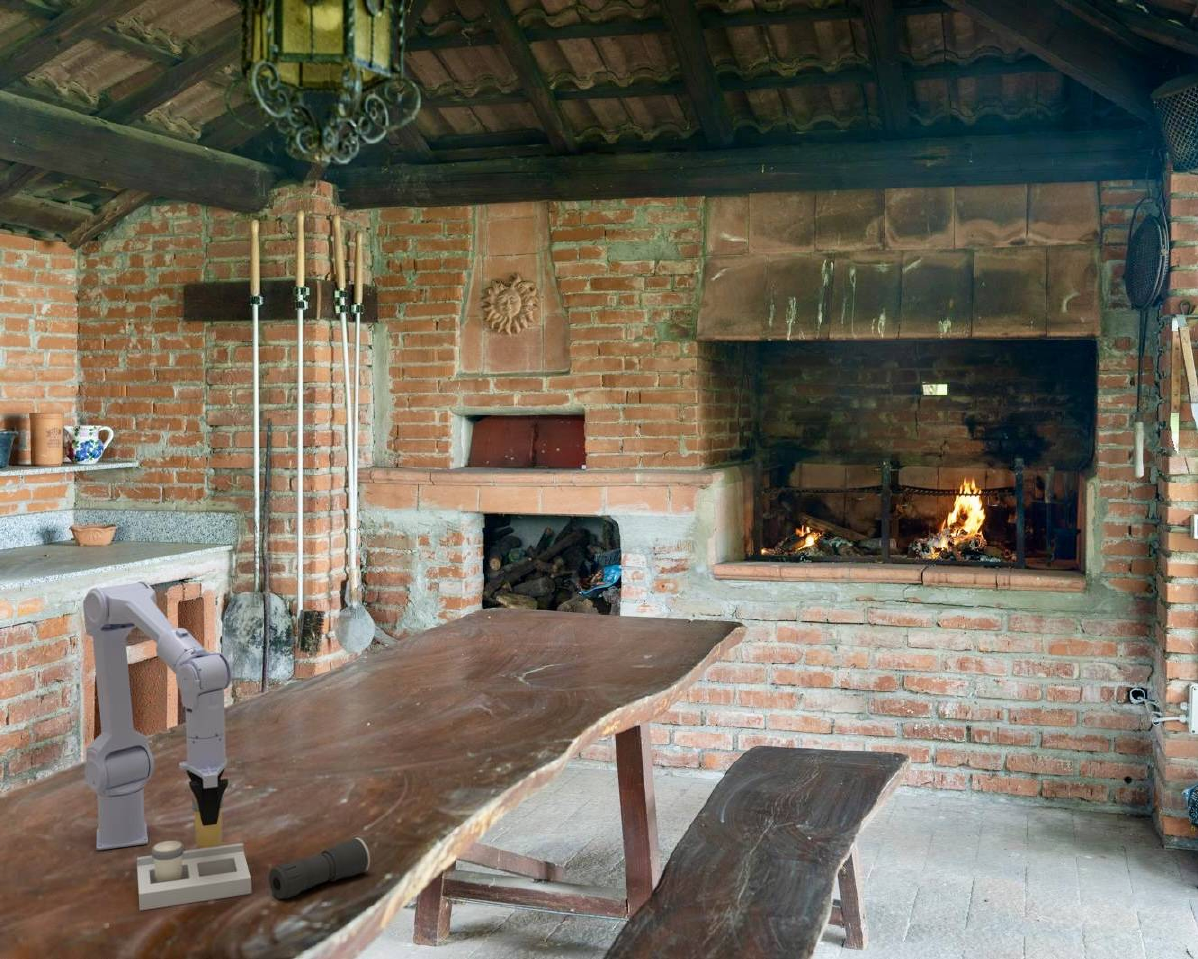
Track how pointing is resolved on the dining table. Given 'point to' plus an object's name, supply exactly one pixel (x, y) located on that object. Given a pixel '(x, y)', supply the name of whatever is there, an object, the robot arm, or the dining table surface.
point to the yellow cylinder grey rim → (207, 828)
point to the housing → (196, 877)
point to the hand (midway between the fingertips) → (208, 818)
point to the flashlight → (319, 868)
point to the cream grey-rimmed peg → (168, 861)
